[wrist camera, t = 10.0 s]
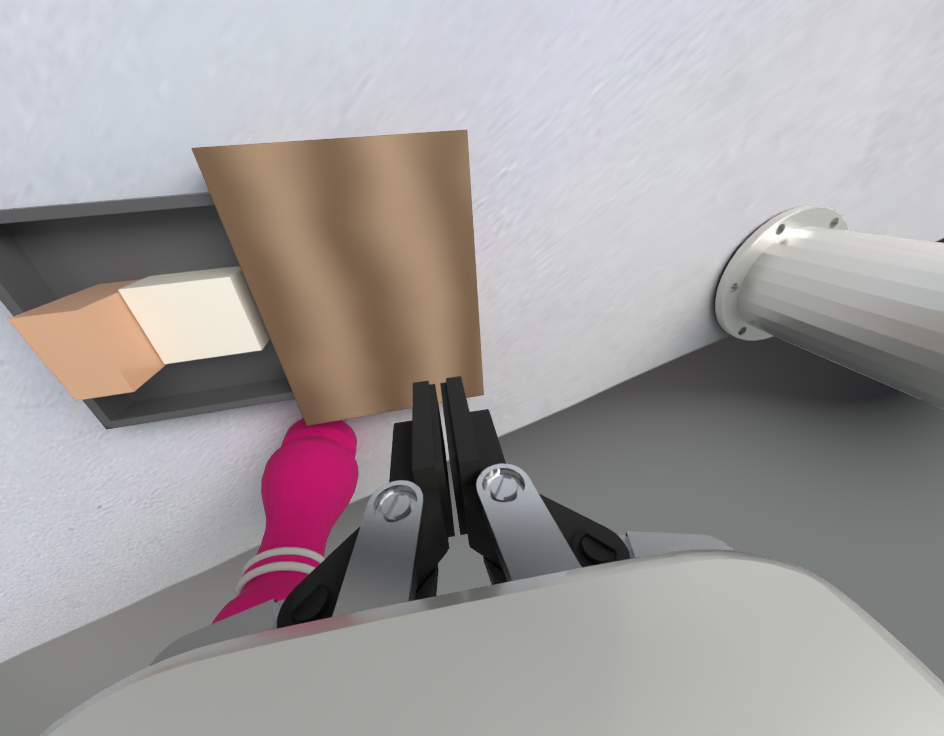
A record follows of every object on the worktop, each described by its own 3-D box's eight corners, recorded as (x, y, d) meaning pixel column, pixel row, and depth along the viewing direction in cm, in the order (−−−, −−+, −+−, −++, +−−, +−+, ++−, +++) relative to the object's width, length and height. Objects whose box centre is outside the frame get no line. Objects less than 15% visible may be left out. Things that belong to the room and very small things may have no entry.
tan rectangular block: (76, 310, 17) (7, 318, 17) (134, 391, 20) (75, 400, 19) (149, 278, 22) (97, 284, 22) (187, 346, 25) (141, 352, 24)
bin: (234, 190, 21) (212, 192, 19) (306, 377, 28) (297, 398, 26) (-9, 210, 19) (-69, 216, 17) (133, 404, 27) (106, 429, 24)
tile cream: (247, 265, 23) (229, 276, 20) (274, 332, 25) (261, 350, 23) (149, 276, 22) (117, 289, 20) (188, 344, 25) (164, 364, 22)
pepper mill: (361, 409, 31) (322, 697, 14) (363, 467, 34) (333, 753, 18) (274, 410, 29) (110, 738, 12) (284, 471, 33) (168, 792, 16)
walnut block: (455, 136, 22) (467, 129, 19) (474, 370, 31) (483, 394, 28) (225, 151, 20) (191, 148, 17) (317, 396, 29) (306, 425, 26)
